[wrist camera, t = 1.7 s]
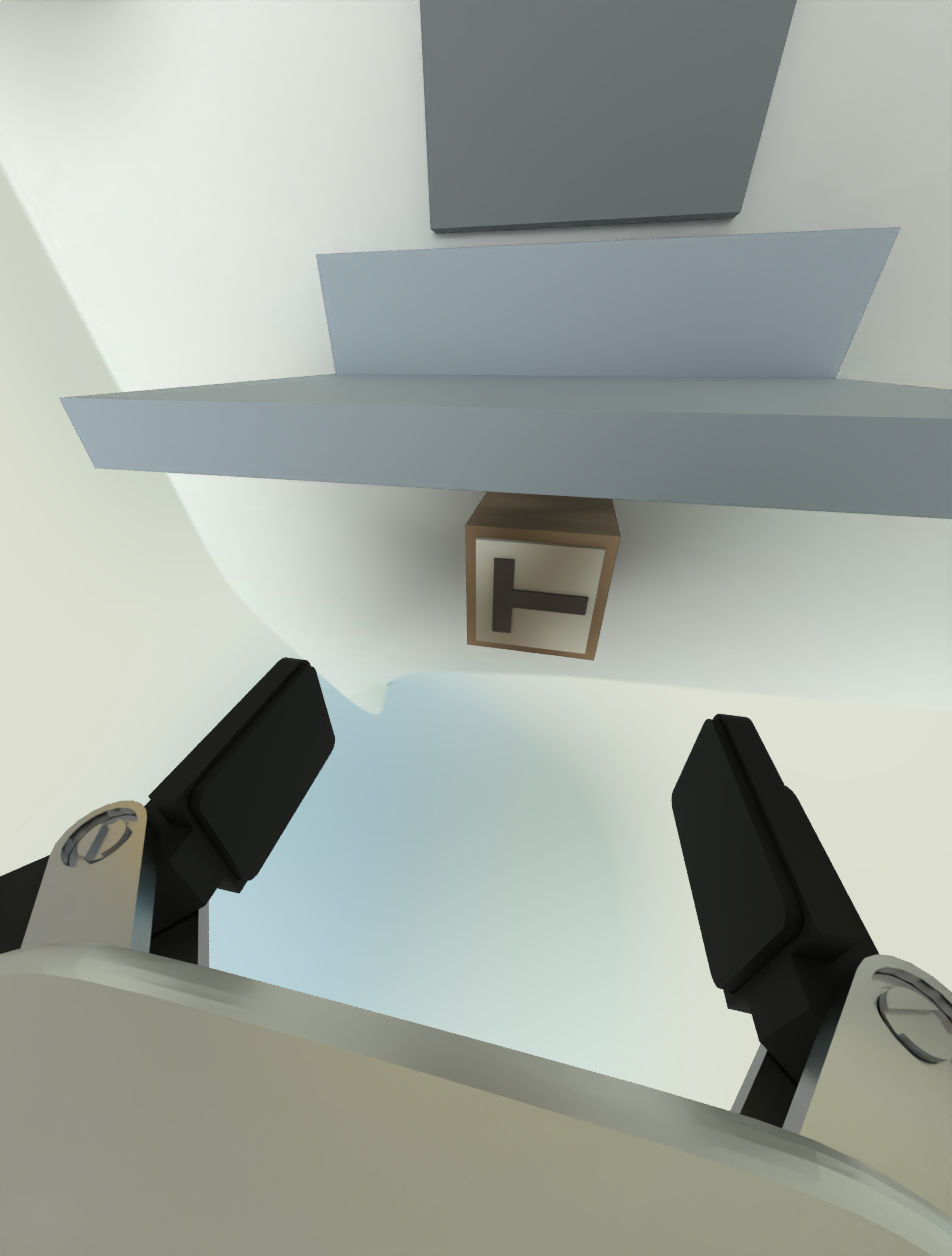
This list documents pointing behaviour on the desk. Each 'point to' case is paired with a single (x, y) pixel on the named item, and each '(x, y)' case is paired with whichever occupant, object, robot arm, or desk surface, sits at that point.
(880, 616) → the desk surface
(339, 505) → the desk surface
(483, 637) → the letter cube
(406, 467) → the screen
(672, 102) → the mat
